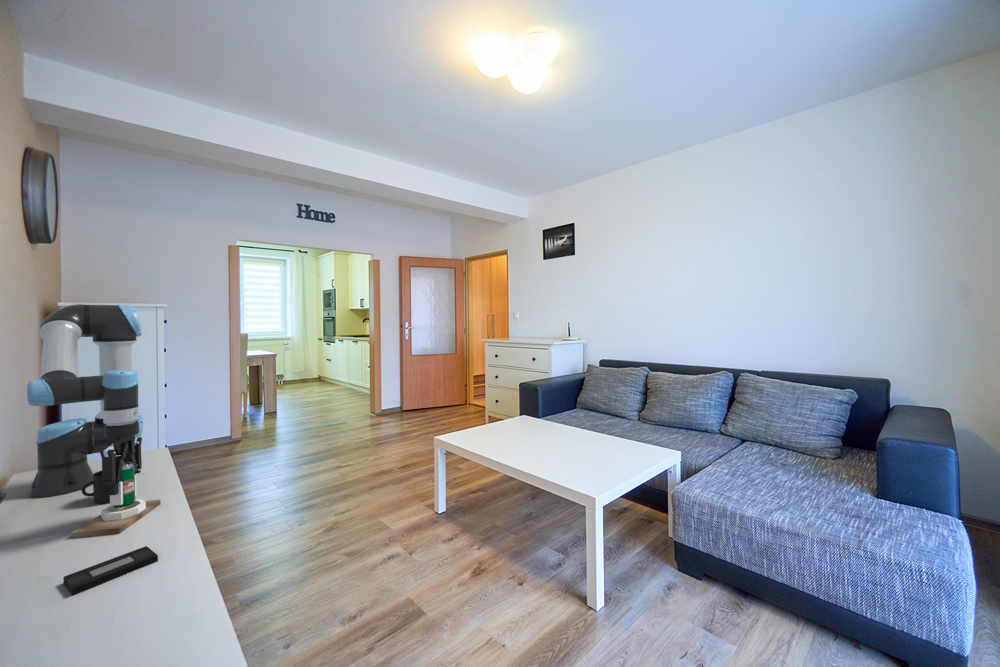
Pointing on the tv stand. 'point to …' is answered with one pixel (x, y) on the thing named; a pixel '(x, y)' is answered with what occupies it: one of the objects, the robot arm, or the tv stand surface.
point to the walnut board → (112, 523)
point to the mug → (98, 489)
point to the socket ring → (110, 512)
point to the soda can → (127, 484)
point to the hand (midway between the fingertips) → (123, 500)
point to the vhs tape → (109, 570)
